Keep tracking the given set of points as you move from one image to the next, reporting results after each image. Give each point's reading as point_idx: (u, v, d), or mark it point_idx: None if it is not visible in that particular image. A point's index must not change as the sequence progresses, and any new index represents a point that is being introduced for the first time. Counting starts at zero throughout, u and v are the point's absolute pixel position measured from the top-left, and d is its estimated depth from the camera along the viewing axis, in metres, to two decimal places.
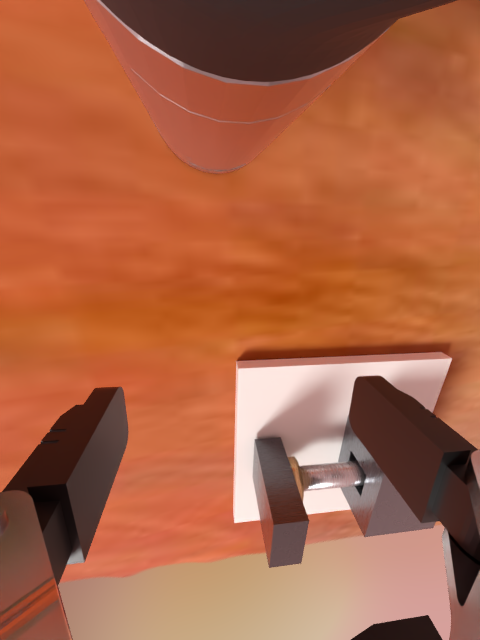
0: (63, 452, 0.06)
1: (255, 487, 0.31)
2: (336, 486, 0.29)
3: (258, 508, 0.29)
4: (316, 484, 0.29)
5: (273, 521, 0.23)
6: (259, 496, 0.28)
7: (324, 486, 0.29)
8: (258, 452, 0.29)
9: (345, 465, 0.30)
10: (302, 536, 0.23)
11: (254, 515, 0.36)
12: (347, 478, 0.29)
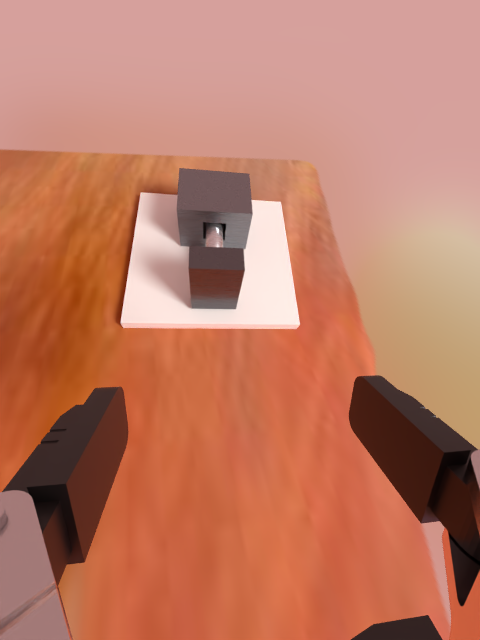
0: (63, 452, 0.06)
1: (231, 302, 0.36)
2: (215, 240, 0.37)
3: (237, 294, 0.34)
4: None
5: (189, 269, 0.29)
6: (222, 294, 0.34)
7: None
8: (191, 301, 0.35)
9: None
10: (208, 249, 0.30)
11: (290, 307, 0.39)
12: (209, 234, 0.37)
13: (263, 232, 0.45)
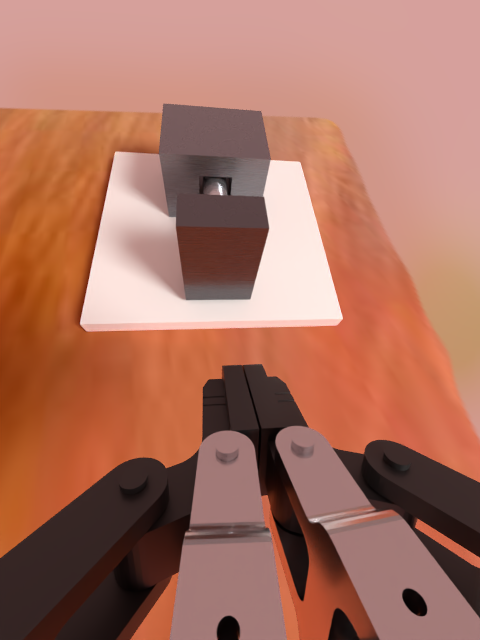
0: (239, 409, 0.07)
1: (245, 288, 0.24)
2: None
3: (254, 275, 0.22)
4: None
5: (177, 229, 0.17)
6: (230, 274, 0.22)
7: None
8: None
9: None
10: (207, 197, 0.18)
11: (326, 295, 0.28)
12: (209, 193, 0.26)
13: (280, 198, 0.33)
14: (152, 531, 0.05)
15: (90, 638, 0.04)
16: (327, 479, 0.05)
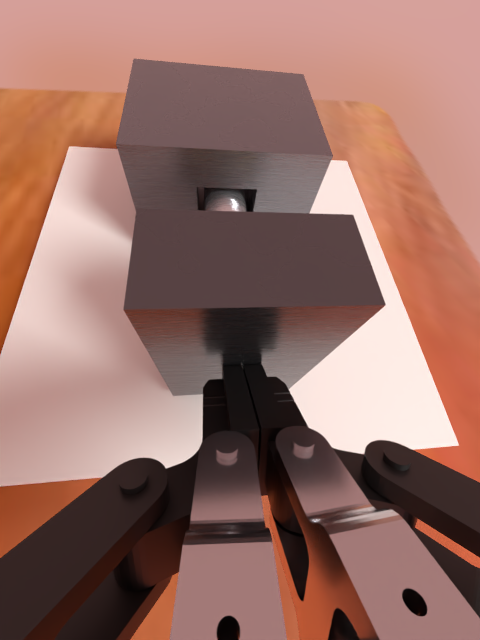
0: (239, 409, 0.07)
1: (283, 381, 0.13)
2: None
3: (308, 368, 0.11)
4: None
5: (130, 313, 0.06)
6: None
7: None
8: None
9: None
10: (215, 219, 0.07)
11: (422, 395, 0.16)
12: (214, 200, 0.15)
13: None
14: (152, 531, 0.05)
15: (90, 638, 0.04)
16: (327, 479, 0.05)
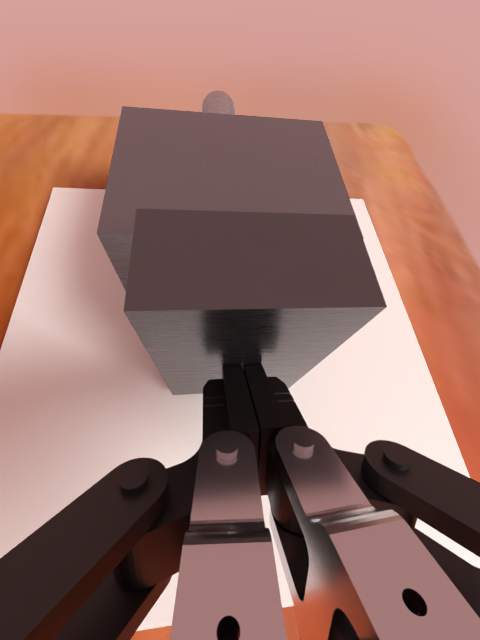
0: (239, 409, 0.07)
1: (283, 380, 0.13)
2: None
3: (308, 368, 0.11)
4: None
5: (130, 315, 0.06)
6: None
7: None
8: None
9: None
10: (216, 220, 0.07)
11: None
12: None
13: None
14: (152, 531, 0.05)
15: (90, 639, 0.04)
16: (327, 479, 0.05)
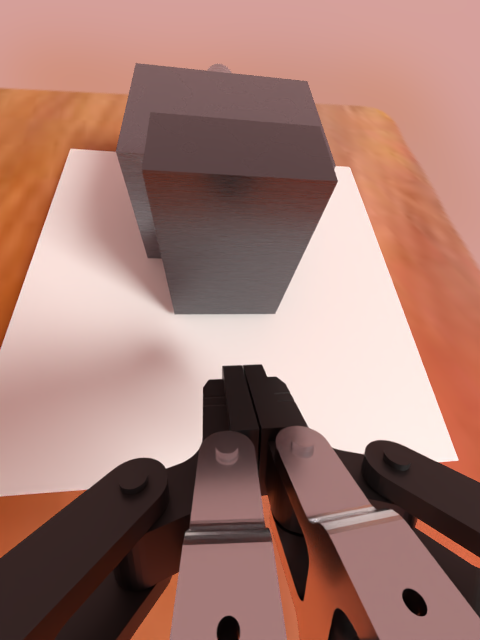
0: (239, 409, 0.07)
1: (269, 298, 0.15)
2: None
3: (289, 276, 0.13)
4: None
5: (145, 177, 0.08)
6: (249, 275, 0.13)
7: None
8: None
9: None
10: (211, 122, 0.09)
11: (422, 408, 0.15)
12: None
13: (326, 224, 0.21)
14: (152, 531, 0.05)
15: (89, 639, 0.04)
16: (327, 479, 0.05)
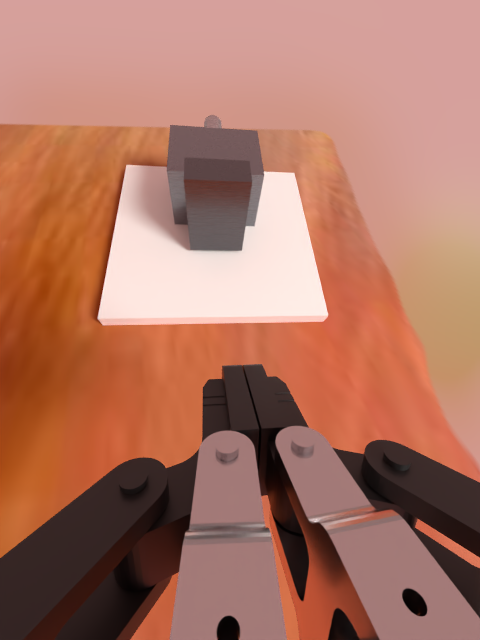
0: (239, 409, 0.07)
1: (237, 239, 0.30)
2: None
3: (244, 226, 0.29)
4: None
5: (184, 181, 0.24)
6: (225, 225, 0.28)
7: None
8: (189, 238, 0.30)
9: None
10: (207, 160, 0.25)
11: (314, 294, 0.31)
12: None
13: (275, 207, 0.37)
14: (152, 531, 0.05)
15: (90, 638, 0.04)
16: (327, 479, 0.05)
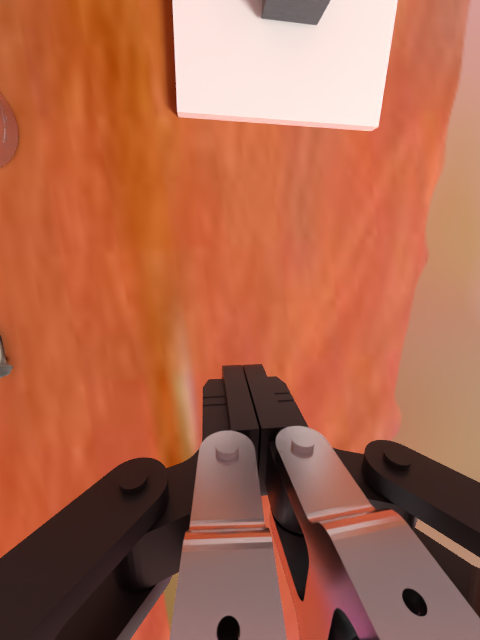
0: (239, 409, 0.07)
1: (317, 11, 0.27)
2: None
3: None
4: None
5: None
6: None
7: None
8: (265, 3, 0.26)
9: None
10: None
11: (374, 99, 0.32)
12: None
13: None
14: (152, 531, 0.05)
15: (90, 638, 0.04)
16: (327, 479, 0.05)
